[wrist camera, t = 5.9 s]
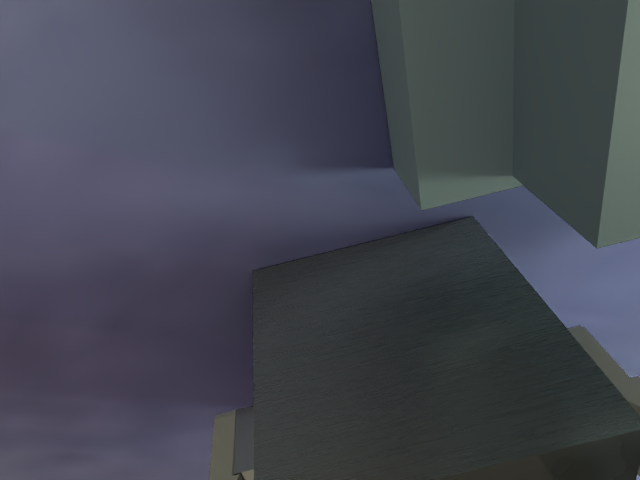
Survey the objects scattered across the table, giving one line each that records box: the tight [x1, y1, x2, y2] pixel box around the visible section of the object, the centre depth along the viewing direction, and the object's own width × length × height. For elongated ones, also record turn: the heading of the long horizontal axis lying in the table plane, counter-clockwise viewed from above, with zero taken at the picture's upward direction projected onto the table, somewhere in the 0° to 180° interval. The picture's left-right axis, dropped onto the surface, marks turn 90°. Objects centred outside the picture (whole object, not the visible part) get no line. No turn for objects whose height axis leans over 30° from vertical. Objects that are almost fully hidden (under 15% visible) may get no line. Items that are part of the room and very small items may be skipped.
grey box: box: [253, 217, 640, 480], centre depth 10 cm, size 6×6×7 cm
